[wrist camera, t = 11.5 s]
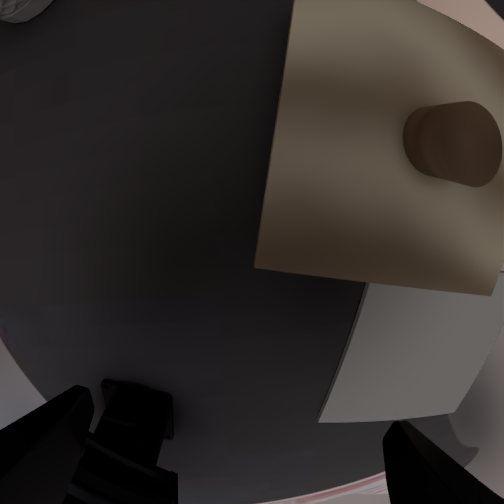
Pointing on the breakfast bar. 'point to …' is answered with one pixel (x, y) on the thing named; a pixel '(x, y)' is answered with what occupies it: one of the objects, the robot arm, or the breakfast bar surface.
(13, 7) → the white cup
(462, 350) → the mat
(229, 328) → the breakfast bar surface
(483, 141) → the lid
